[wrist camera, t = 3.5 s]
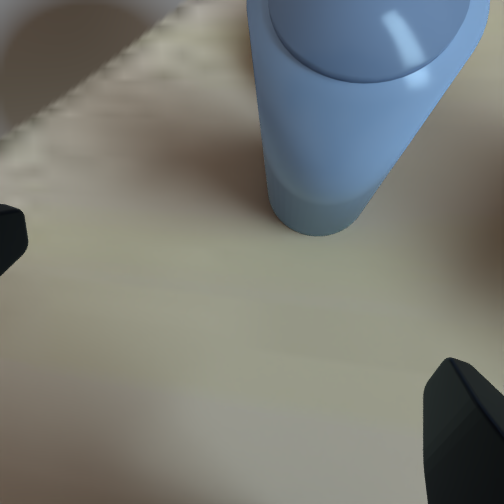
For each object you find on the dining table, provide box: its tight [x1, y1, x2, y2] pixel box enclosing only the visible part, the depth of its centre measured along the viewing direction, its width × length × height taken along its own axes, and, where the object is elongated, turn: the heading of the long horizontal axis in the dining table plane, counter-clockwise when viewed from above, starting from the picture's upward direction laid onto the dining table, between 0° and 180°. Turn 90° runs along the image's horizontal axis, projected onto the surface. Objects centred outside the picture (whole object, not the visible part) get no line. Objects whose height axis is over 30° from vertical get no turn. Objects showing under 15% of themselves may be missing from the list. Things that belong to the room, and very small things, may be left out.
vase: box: [247, 0, 490, 236], centre depth 15 cm, size 5×5×13 cm
